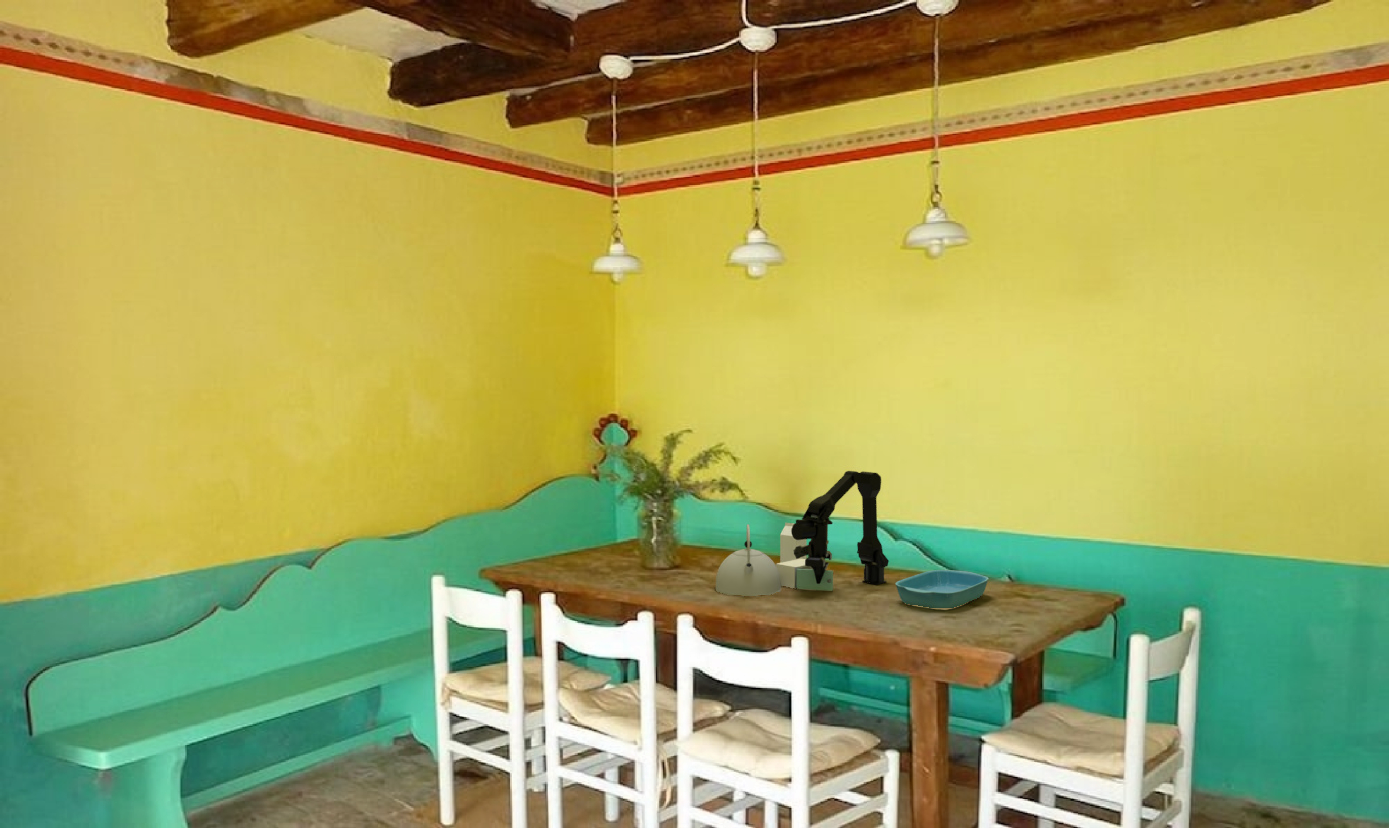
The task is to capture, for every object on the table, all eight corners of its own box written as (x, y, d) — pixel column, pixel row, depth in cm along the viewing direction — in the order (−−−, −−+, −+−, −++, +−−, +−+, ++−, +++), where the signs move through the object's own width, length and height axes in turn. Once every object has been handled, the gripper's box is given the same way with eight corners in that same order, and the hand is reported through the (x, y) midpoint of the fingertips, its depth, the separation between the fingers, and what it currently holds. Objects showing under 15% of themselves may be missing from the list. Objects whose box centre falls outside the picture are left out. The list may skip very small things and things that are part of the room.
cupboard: (821, 583, 355) (821, 561, 354) (795, 589, 345) (795, 567, 344) (801, 579, 361) (801, 558, 361) (775, 585, 351) (775, 563, 351)
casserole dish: (948, 616, 306) (948, 593, 306) (884, 606, 321) (884, 584, 321) (998, 596, 334) (998, 575, 334) (937, 587, 349) (937, 566, 349)
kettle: (783, 598, 331) (783, 531, 330) (714, 598, 332) (714, 531, 331) (779, 582, 356) (779, 520, 355) (715, 582, 357) (715, 520, 356)
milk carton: (796, 577, 366) (796, 525, 365) (780, 574, 370) (780, 523, 369) (806, 573, 371) (806, 523, 370) (790, 571, 375) (790, 521, 375)
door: (795, 589, 342) (796, 570, 342) (797, 587, 345) (797, 568, 344) (831, 591, 339) (831, 572, 338) (833, 590, 341) (833, 570, 341)
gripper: (800, 533, 350) (800, 577, 350) (790, 540, 332) (789, 586, 332) (832, 535, 347) (831, 579, 347) (823, 542, 329) (822, 589, 329)
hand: (818, 583), depth 339 cm, fingers closed
